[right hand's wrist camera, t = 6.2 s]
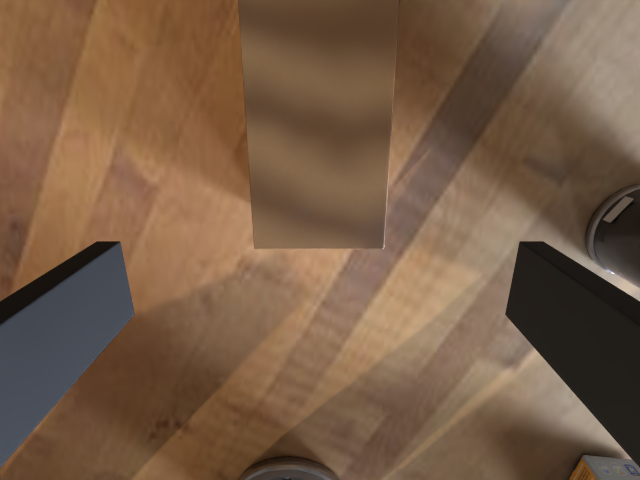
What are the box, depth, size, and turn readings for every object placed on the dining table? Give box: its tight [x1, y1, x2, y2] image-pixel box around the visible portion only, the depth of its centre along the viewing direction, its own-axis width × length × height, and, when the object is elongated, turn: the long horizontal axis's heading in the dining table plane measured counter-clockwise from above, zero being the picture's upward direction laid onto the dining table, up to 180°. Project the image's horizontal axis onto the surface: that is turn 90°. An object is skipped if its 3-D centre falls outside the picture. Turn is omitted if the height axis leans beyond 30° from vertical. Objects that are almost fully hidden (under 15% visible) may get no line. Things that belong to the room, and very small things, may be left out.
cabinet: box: [238, 0, 400, 249], centre depth 29 cm, size 19×10×10 cm, turn 0°
